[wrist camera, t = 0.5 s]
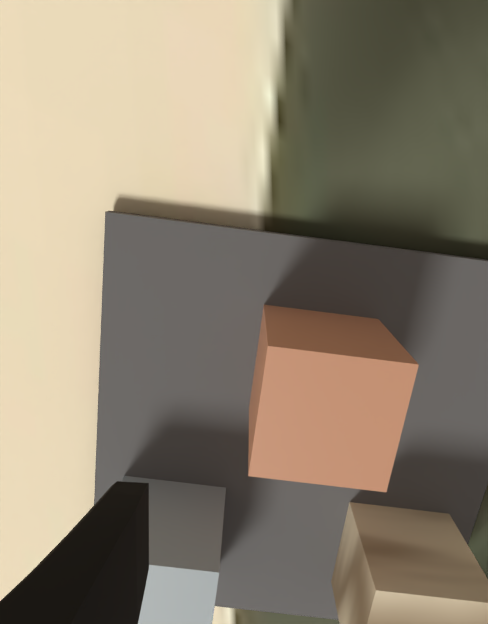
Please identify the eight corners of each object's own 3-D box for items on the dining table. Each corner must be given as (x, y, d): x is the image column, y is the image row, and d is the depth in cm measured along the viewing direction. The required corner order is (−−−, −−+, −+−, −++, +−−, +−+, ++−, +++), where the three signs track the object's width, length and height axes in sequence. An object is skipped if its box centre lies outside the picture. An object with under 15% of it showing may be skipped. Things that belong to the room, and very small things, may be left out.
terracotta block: (355, 420, 19) (386, 492, 15) (249, 408, 19) (248, 475, 15) (378, 318, 18) (419, 364, 14) (263, 304, 18) (267, 346, 13)
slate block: (215, 568, 21) (205, 667, 17) (119, 557, 21) (85, 654, 17) (225, 487, 20) (219, 572, 16) (123, 475, 20) (89, 557, 16)
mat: (435, 621, 23) (439, 630, 22) (94, 583, 22) (90, 592, 22) (549, 267, 18) (558, 270, 17) (109, 210, 17) (105, 211, 17)
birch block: (425, 592, 22) (468, 695, 17) (331, 581, 22) (351, 683, 17) (449, 513, 20) (502, 604, 16) (349, 501, 20) (376, 590, 16)
